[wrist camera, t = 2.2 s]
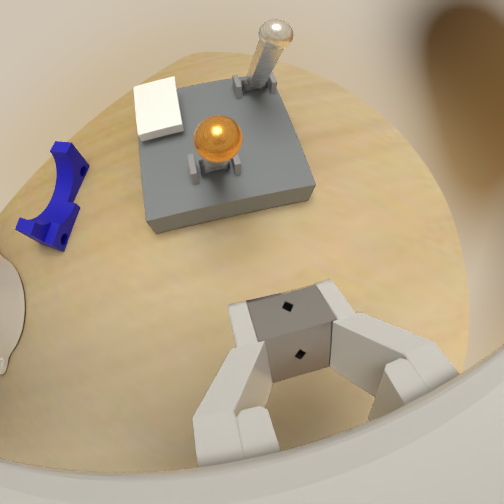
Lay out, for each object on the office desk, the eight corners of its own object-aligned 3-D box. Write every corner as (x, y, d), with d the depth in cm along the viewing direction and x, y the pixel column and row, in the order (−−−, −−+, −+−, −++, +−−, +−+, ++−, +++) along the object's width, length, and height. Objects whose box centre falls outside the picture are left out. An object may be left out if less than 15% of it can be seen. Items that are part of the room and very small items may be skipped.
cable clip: (64, 252, 32) (38, 237, 26) (41, 243, 32) (15, 229, 26) (98, 167, 35) (80, 143, 30) (74, 164, 35) (55, 141, 30)
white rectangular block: (141, 141, 31) (137, 135, 29) (137, 94, 31) (133, 86, 29) (183, 131, 32) (182, 123, 30) (176, 84, 32) (174, 76, 30)
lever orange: (203, 182, 31) (197, 164, 16) (197, 155, 30) (187, 114, 15) (231, 176, 31) (250, 153, 16) (225, 149, 31) (239, 104, 16)
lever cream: (244, 98, 34) (266, 40, 19) (239, 78, 34) (258, 14, 19) (267, 95, 34) (301, 39, 20) (262, 75, 34) (292, 13, 19)
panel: (156, 233, 33) (139, 213, 27) (144, 117, 37) (132, 88, 31) (308, 200, 35) (320, 174, 29) (267, 93, 39) (271, 62, 33)
